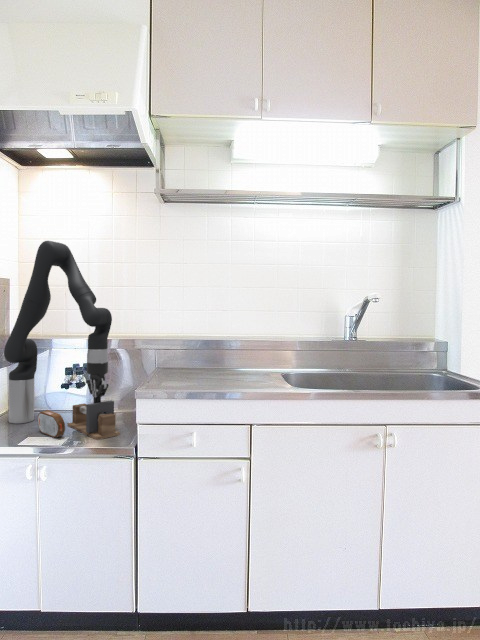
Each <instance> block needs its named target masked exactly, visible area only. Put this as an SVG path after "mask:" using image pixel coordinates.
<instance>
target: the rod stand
mask: <svg viewBox="0 0 480 640" xmlns="http://www.w3.org/2000/svg"><path fill="white" fill-rule="evenodd" d="M86 404H87V403H78V404H73V405H72V414H71V415H72V417H71V419H72V422H67V427H69V428H71V429H74V430H75V431H77V432H79V433H82V434H84V435H86V436H88V437H89V438H92V439H94V440H96V441H99V440H103V439H108V438H112V437H116V436H120V435H121V434H120V433H121V432H120V431H118V430H116V414H115V413H114V414H111V413H110V414H104V413H103V412H102V413H98V431H95V432H90V433H88V432H86Z"/></svg>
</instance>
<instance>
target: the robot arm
mask: <svg viewBox="0 0 480 640" xmlns="http://www.w3.org/2000/svg"><path fill="white" fill-rule="evenodd" d="M33 263H34V265H33V269H32V272H31V276H30V279H29V283H28V286H27V289H26V292H25V294H24V297H23V300H22V304H21V306H20V309H19V313H18V315H17V318H16V321H15V323H14V326H13V328H12V330H11V333H10V334H9V336H8V339H6V343H5V345H4V350H3V354H4V355H3V357H4V359H5V360H6V361H7V362H8V363H11V364H16V363H18V364H17V366H16V367H15V368H14V369H13V370H11V371H9V374H8V423H10V424H26V423H31V422H33V421H34V420H35V375H36V372H37V367H38V366H37V365H38V346H37V342H35V340H33V339H30V338H28V337H29V335H30V333H31V331H32V330H33V329H34V328H35V327H36V326H37V325H38V324H39V323H40V322H41V321H42V320H43V319H44V317H45V316H46V314H47V311H48V308H49V307H50V303H51V297H52V295H51V291H50V285H49V278H50V277H49V276H50V272H51V270H52V268H53V267H59V268H60V269H61V270H62V271H63V272H64V274H65V276H66V278H67V286H68V291H69V293H70V295H71V297H72V298H73V299H74V301H75V302H76V304H77V305H78V308H79V312H80V315H81V318H82V320H83V322H84V323H85V324H86V325H87V326H89V327H91V328H94V331H93V332H92V333H89V334H88V337H87V353H86V374H87V375H89V379H88V380H86V385H87V388H88V391H89V394H90V395H92V397H93V402H92V404H93V403H99V402H102V400H101V399H102V397H104V396H105V394H106V392H107V390H108V388H109V387H110V386H109V385H110V384H109V383H106V376H105V375H106V374H108V372H109V350H108V346H109V345H108V343H109V342H108V337H109V334H110V330H111V327H112V321H113V316H112V313H111V311H110V310H109V309H108V308H106V307H96V306H95V304H96V303H97V297H96V295H95V293H94V292H93V291H92V288H90V286H89V284H88V283H87V282H86V280H85V278H84V276H83V274H82V272H81V271H80V268H79V266H78V264H77V262H76V259H75V257H74V255H73V252H72V251H71V249H70V247H68V245H66V244H65V243H61V242H57V241H53V240H44V241H42V242H41V243H40V244H39V246H38V248H37V251H36V254H35V259H34V262H33Z"/></svg>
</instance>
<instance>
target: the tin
mask: <svg viewBox="0 0 480 640" xmlns="http://www.w3.org/2000/svg"><path fill="white" fill-rule="evenodd" d="M37 427H38V429H39V431H40V432H41V433H42V434H44V435H47V436H49V437H52V438H55V439H56V438H59V437H62V436H64V435H65V431H66V423H65V420H64V417H63V416H62V415H61V414H60V413H59V412H54V411H51V410H49V409H46V410H43V411H40V412H39V413H38V414H37Z"/></svg>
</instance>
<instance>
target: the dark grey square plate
mask: <svg viewBox="0 0 480 640" xmlns="http://www.w3.org/2000/svg"><path fill="white" fill-rule="evenodd" d="M85 404H86V432H88V433H90V432H95V431H98V413H102V412H103V413H104V414H110V413H111V414H114V415H115V401H114V400H106V401H101V402H99V403H93V402H92V403H85Z"/></svg>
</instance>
